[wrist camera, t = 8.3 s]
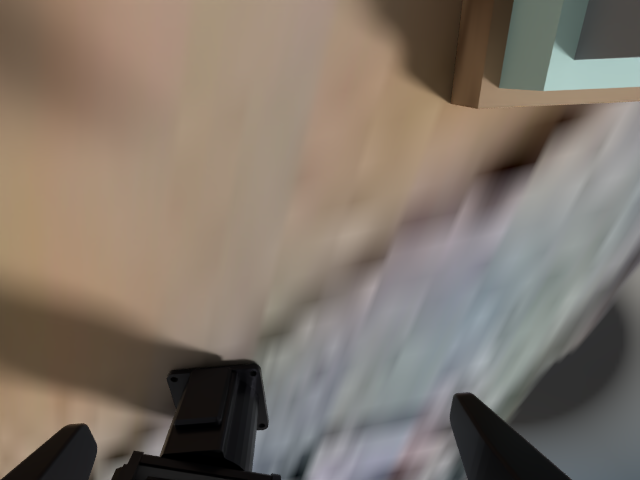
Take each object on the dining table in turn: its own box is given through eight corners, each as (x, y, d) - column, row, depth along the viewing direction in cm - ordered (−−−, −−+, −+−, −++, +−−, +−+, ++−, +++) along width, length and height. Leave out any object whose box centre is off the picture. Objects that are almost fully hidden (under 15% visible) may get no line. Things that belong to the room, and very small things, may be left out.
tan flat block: (598, 96, 18) (650, 100, 16) (450, 103, 18) (477, 108, 15) (656, -104, 15) (736, -144, 12) (474, -100, 15) (515, -140, 12)
